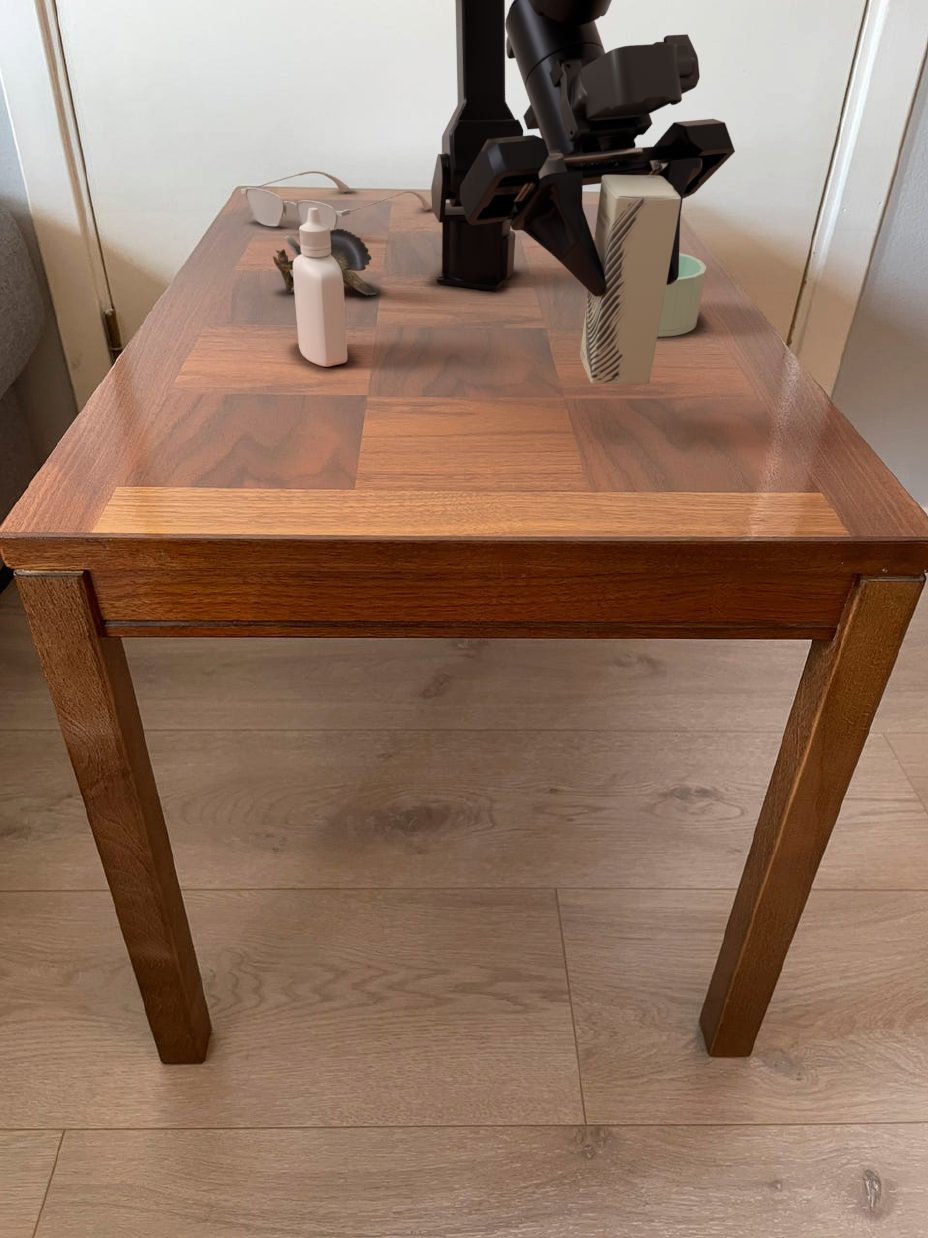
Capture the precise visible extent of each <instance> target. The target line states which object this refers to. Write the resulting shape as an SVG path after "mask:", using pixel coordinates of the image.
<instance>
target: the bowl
mask: <svg viewBox="0 0 928 1238" xmlns="http://www.w3.org/2000/svg"><path fill="white" fill-rule="evenodd" d="M707 268H708V266H706V264H705V263H704V262H703V261H702V260H701V259H698V258H696V257H695V256H692V255H689V254H686V253H681V252H679V276H678V279H677V280H676V281H675V282H674V283H673V284H671V285H666V290H665V296H664V301H663V307H662V312H661V318H660V324H659V329H658V335H657V338H658V337H659V338H660V337H661V338H662V337H674V336H680V335H684V334H687V333H689V332H691V331H693V330H694V329H695V328H696V326H697V324H698V318H699V315H700V309H701V304H702V299H703V298H702V297H703V292H704V285H705V281H706V274H707Z"/></svg>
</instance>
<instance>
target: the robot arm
mask: <svg viewBox="0 0 928 1238" xmlns="http://www.w3.org/2000/svg"><path fill="white" fill-rule="evenodd" d="M612 1H613V0H513V1H512V2H511V4H510V6H509V9H508V12H507V16H506V0H455V1H454V2H455V3H454V4H455V39H456V40H455V42H456V44H455V45H456V46H455V48H456V49H455V50H456V85H457V86H456V89H457V93H456V94H457V105H456V107H455V109H454V111H453V113H452V115H451V117H450V119H449V121H448V123H447V125H446V127H445V128H444V131H443V133H442V136H441V153H438V154H437V157H436V161H435V166H434V171H433V177H432V181H431V182H432V183H431V187H430V195H431V211H432V213H433V215H434V216H435V218H436V220H437V222H438V223H439V224H441V225H442V226H441V227H442V228H441V272H440V273H439V274H438V275H437V276H436V277H435V282H436V283H437V284H441V285H442V284H443V285H450V286H458V287H466V288H473V289H481V290H487V291H488V290H489V291H497V290H499V289H500V287H501V286H502V285H503V284H504V283H505V282H506V281H507V280H508V279H509V277H510V276H511V275H513V273H514V270H515V269H514V268H515V248H516V232H515V231H521V232H524V233H525V234H527V235H528V236H529V237H530V238H531V239H532V240H534V241H535V242H536V243H538V244H539V245H540V246H542V248H543V249H545V250H546V251H547V252H549V253H550V254H551V255H552V256H553V257H554V258H555V259H556V260H557V261H558V262H559V263H561V265H562V266H563V267H564V268H566V270H567V271H569V273H570V274H571V275H572V276H573V277H575V279H577V281H579V282H580V284H581V285H583V286H584V287H585V288H586V289H587V291H588V290H589V291H590V292H591V293H592V294H593V295H594V296H595V297H598V296H601V295H602V294H603V293H604V292H605V291H606V289H607V286H606V281H605V276H604V272H603V268H602V264H601V261H600V258H599V255H598V252H597V249H596V246H595V243H594V237H593V234H592V231H591V229H590V226H589V222H588V219H587V217H586V212H585V211H584V205H583V189H584V188H583V186H590V185H591V186H593V185H601V179H602V176H603V175H657V176H662V177H664V178H665V179H666V180H667V182H668V183H669V184H671V185H672V186H673V188H674V189H675V191H676V192H677V193H678V194H679V196H680V197H681V202H680V208H679V214H678V221H677V226H676V232H675V238H674V244H673V249H672V255H671V261H670V266H669V272H668V278H667V284H666V285H671V284H673V283H674V282H675V281H676V280H677V279H678V276H679V253H680V240H681V214H682V208H683V207H682V206H683V201H684V200H683V199H686V198H688V197H690V196H692V195H694V194H695V193H696V192H697V191H698V190H699V189H700V188H701V187H702V186H703V185H704V184H706V182H707V181H708V180H709V179H710V178H711V177H712V176H713V175H714V174H715V173H716V172H717V171H718V170H719V169H720V168H721V167H722V166H723V165H724V164H725V163H726V162H727V161H728V160H729V159H730V158H731V157H732V155H734V154H735V152H736V150H735V147H734V144H733V142H732V141H733V140H732V138H731V136H730V133H729V129H728V127H727V124H726V122H724V121H721V120H718V119H715V118H705V119H696V120H685V121H684V120H683V121H674V122H673V123H672V124H671V125H670V126H669V127H668V128H667V129H666V131H665V132H663V135H662V136H661V137H660V138H659V139H658V140H657V141H656V143H655V144H654V146H645V147H644V146H643V147H641V146H640V147H639V146H638V147H636V146H637V144H636V141H635V140H636V139H637V138H638V136H643V135H644V136H645V134H646V133H647V132H648V130H649V129H650V128H651V126H652V125H653V121H652V117H651V114H652V113H654V112H655V111H658V110H660V109H663V108H664V107H667V106H668V105H671V106H676V105H677V104H681V102H682V101H683V96H682V95H684V94H686V93H687V92H689V91H691V90H693V89H695V88H697V86H698V83H699V81H700V77H701V75H700V65H699V57H698V54H697V52H696V50H695V47H694V44H693V43H692V41H691V39H690V36H689V34H688V33H687V34H669V35H668V34H667V35H666V36H664V37H663V41H656V42H654V43H652V44H631V45H624V46H619V47H617V48H613V49H611V50H609V51H607V52H606V51H605V47H604V45H603V42H602V39H601V36H600V33H599V30H598V26H597V24H596V20H598V19H600V18H601V17H604V16H606V14H607V13H608V11H609V8H610V6H611V4H612ZM506 34H507V37H506ZM506 56H507V58H508V59H509V60H511V59H515V61H516V63H517V67H518V70H519V73H520V76H521V79H522V82H523V85H524V89H525V90H526V94H527V98H528V99H529V100H528V101H529V106H528V108H527V109H526V110H525V113H524V114H523V116H522V118H523V120H524V123H525V127H526V129H527V131H528V130H538V131H539V134H540V136H538V135H535V134H528V135H527V134H526V135H524V128H523V126H522V124H521V122H520V119H516V117H515V116H514V114H513V112H512V110H511V109H510V107H509V105H508V103H507V101H506ZM447 201H449V202H447ZM511 229H512V230H511Z"/></svg>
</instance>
